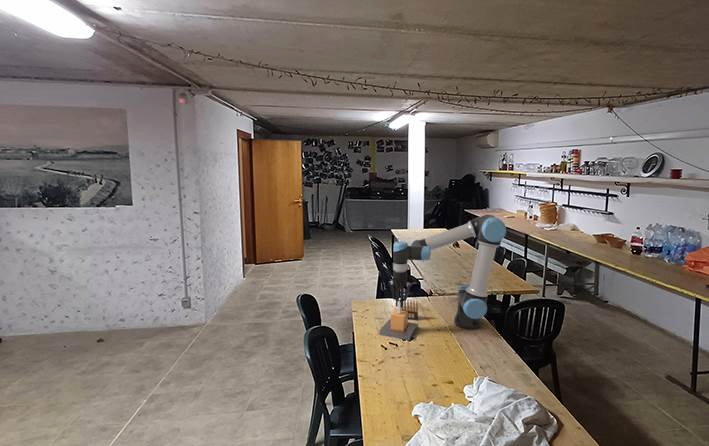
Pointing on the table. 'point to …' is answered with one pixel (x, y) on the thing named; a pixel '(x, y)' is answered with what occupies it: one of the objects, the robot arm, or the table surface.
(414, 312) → the ammunition clip
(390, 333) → the socket plate
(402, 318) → the cardboard-colored brick
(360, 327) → the table surface
